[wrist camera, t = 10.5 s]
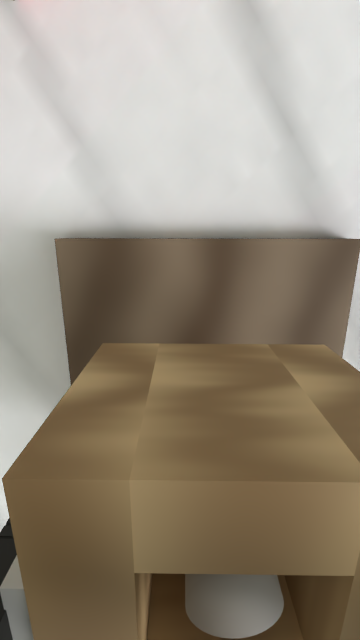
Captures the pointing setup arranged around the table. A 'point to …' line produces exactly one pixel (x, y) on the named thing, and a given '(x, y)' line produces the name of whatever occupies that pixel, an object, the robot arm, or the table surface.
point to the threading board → (208, 338)
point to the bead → (192, 490)
